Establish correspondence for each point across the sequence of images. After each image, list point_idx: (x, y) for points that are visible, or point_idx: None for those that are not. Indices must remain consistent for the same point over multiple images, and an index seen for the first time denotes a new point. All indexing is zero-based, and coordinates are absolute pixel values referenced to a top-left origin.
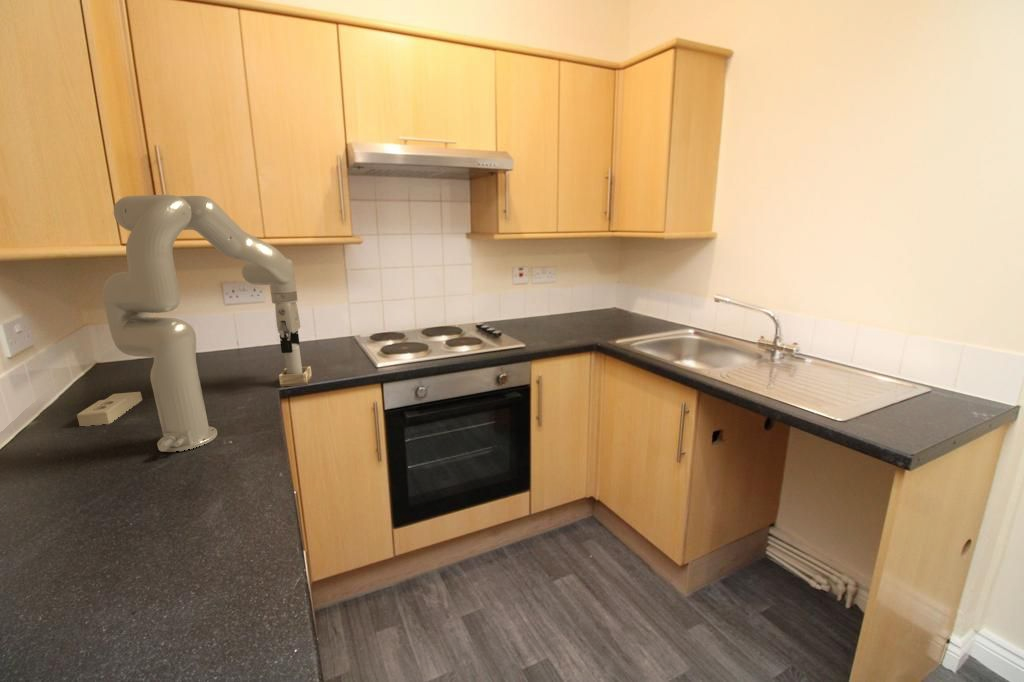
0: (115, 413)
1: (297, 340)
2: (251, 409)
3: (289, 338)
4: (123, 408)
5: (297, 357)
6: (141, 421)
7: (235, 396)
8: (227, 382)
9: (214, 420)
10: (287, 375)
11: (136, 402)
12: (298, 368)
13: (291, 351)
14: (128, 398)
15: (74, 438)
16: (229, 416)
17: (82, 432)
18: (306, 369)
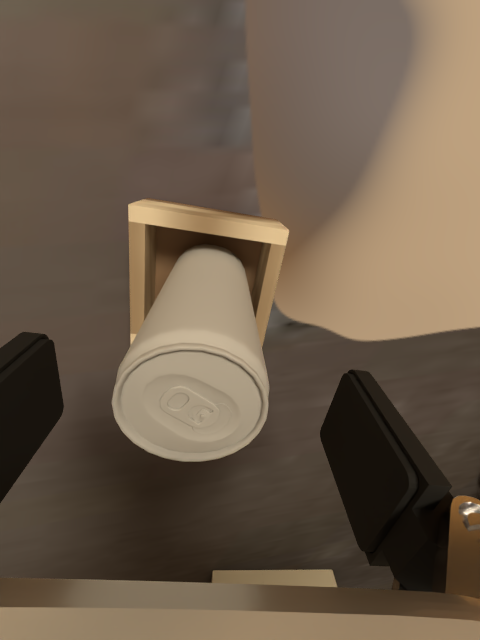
0: (313, 584)
1: (16, 377)
2: (433, 384)
3: (464, 533)
4: (285, 582)
5: (243, 305)
6: (351, 542)
7: (281, 437)
8: (129, 476)
9: (450, 445)
10: (267, 322)
11: (235, 574)
12: (241, 277)
13: (367, 379)
14: None
15: (373, 581)
16: (447, 422)
17: (351, 582)
18: (195, 228)
